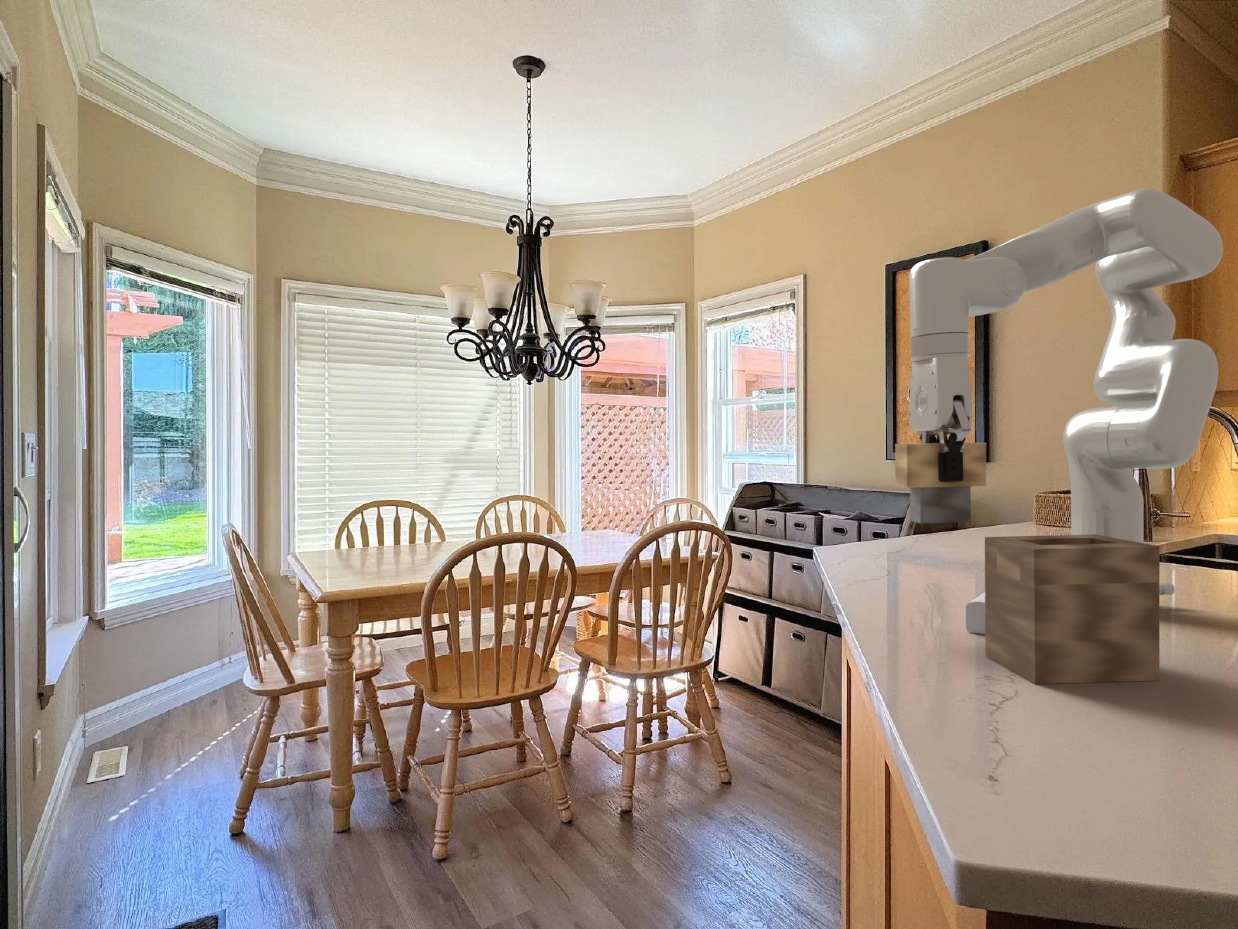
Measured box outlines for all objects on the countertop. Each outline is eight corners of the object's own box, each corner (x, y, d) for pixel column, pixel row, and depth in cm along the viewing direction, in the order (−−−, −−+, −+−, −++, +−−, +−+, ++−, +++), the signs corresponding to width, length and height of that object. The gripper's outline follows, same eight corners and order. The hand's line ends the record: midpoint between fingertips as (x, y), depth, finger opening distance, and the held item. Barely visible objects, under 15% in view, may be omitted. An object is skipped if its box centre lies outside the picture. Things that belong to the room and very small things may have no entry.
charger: (1060, 621, 108) (1040, 644, 96) (992, 613, 114) (965, 633, 102) (1060, 589, 107) (1040, 609, 96) (992, 583, 113) (965, 600, 102)
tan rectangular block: (971, 519, 104) (971, 442, 104) (985, 522, 100) (986, 442, 100) (895, 520, 104) (895, 443, 104) (907, 523, 100) (906, 444, 100)
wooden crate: (1096, 653, 91) (1095, 534, 90) (1159, 680, 80) (1159, 546, 80) (985, 656, 91) (984, 537, 90) (1034, 684, 80) (1034, 549, 80)
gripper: (889, 357, 110) (893, 478, 110) (940, 343, 93) (944, 485, 93) (938, 355, 110) (941, 476, 110) (998, 340, 93) (1001, 483, 94)
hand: (942, 479), depth 102 cm, fingers closed on tan rectangular block, 4 cm apart
